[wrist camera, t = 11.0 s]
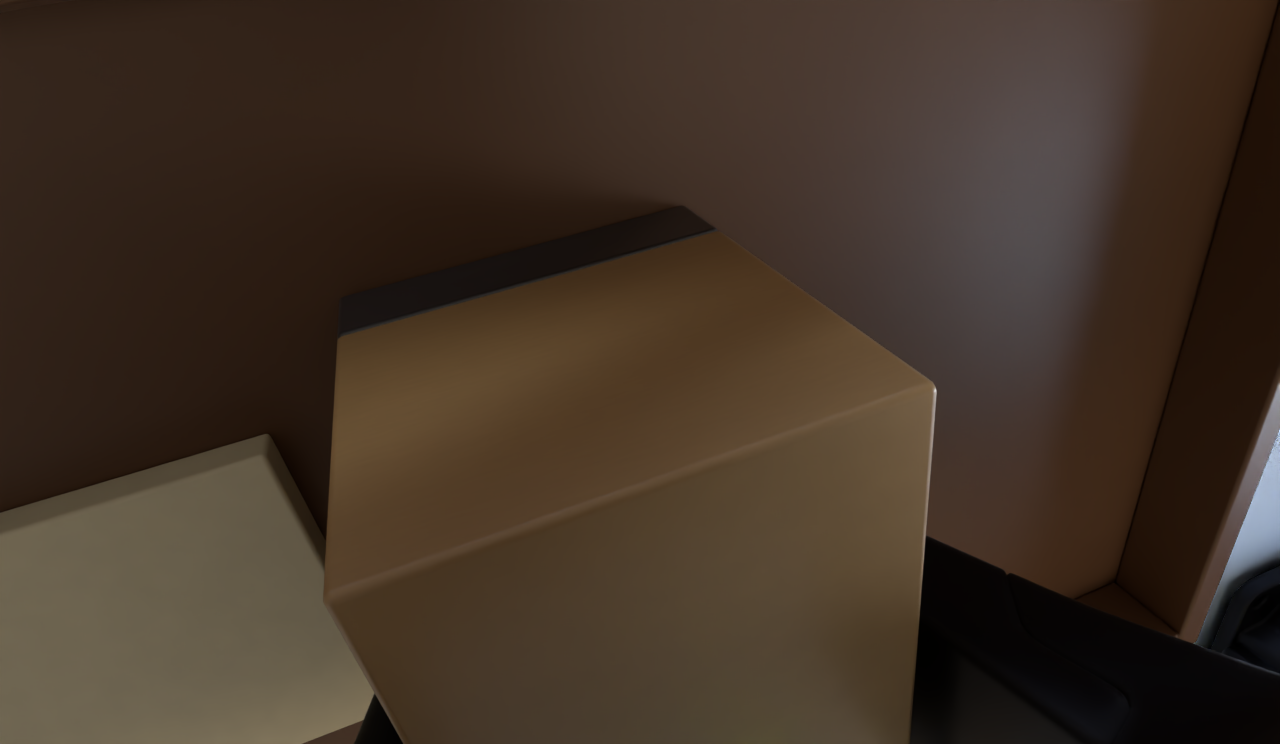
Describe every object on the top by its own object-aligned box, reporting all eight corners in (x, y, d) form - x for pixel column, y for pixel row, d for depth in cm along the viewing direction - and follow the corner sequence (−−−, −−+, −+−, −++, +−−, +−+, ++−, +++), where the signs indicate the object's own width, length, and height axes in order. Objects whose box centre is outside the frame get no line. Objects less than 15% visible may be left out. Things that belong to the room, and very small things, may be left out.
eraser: (684, 202, 8) (941, 384, 5) (738, 641, 13) (898, 921, 9) (337, 295, 8) (317, 602, 4) (518, 731, 12) (591, 1080, 8)
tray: (1319, -269, 9) (1584, -335, 7) (1100, 565, 17) (1197, 642, 15) (-1009, 80, 5) (-1953, 154, 3) (140, 979, 13) (101, 1164, 11)
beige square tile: (269, 430, 8) (265, 454, 8) (398, 678, 10) (401, 707, 10) (-201, 570, 7) (-235, 605, 7) (56, 807, 10) (43, 844, 9)
